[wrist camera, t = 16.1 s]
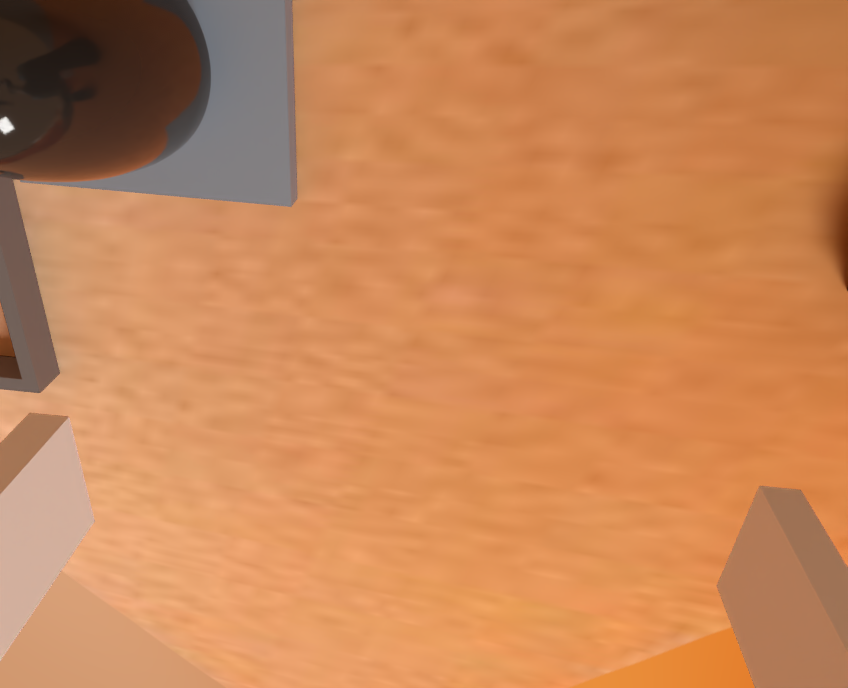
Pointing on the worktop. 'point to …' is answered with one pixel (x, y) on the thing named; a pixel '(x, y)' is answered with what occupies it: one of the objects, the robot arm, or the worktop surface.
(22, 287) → the gray open frame
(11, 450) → the robot arm
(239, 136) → the slate-blue board
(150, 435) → the worktop surface
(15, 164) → the dark brown egg shape
